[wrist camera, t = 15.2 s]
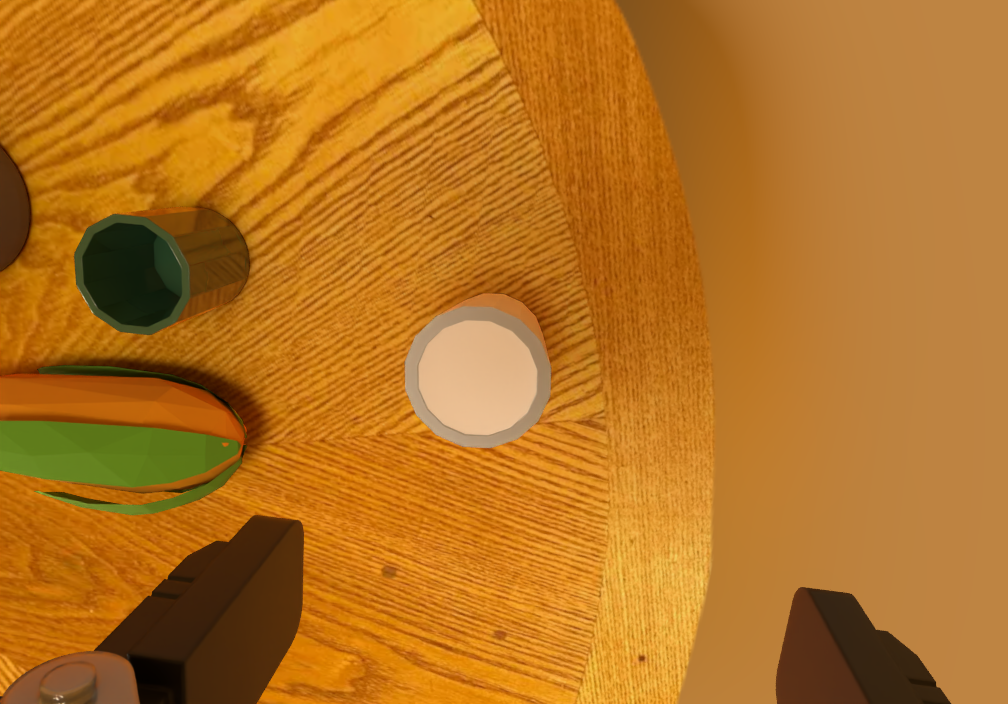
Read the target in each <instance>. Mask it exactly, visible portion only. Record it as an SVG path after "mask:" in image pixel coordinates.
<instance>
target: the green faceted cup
mask: <svg viewBox="0 0 1008 704" xmlns="http://www.w3.org/2000/svg"><path fill="white" fill-rule="evenodd" d="M74 259H75V274H76V285H77V287H78V289H79V291H80V293H81V294H82V296H83V298H84V299H85V301H86V303H87V304H88V306H89V308H90V309H91V311H92V313H93V314H94V315H96V316H97V317H99V318H100V319H102V320H103V321H105V322H106V323H108V324H109V325H111V326H112V327H113V328H115V329H116V330H118V331H120V332H126V333H135V334H144V335H152V334H154V333H157V332H159V331H162V330H164V329H167V328H169V327H171V326H174V325H176V324H179V323H181V322H184V321H186V320H189V319H191V318H194V317H196V316H198V315H201V314H203V313H206V312H208V311H211V310H213V309H215V308H217V307H219V306H221V305H224V304H226V303H228V302H230V301H232V300H233V299H234V298H235V297H236V296H237V295H238V294H239V293H240V291H241V290H242V288H243V286H244V285H245V283H246V280H247V277H248V272H249V255H248V250H247V247H246V244H245V242H244V239H243V237H242V236H241V234H240V232H239V231H238V230H237V228H236V227H235V226H234V225H233V224H232V223H231V222H230V221H229V220H228V219H227V218H225V217H224V216H222V215H221V214H219V213H217V212H215V211H213V210H210V209H206V208H201V207H183V206H182V207H172V208H163V209H154V210H145V211H136V212H126V213H117V214H112V215H110V216H108V217H107V218H105V219H103V220H101V221H99V222H97V223H95V224H93V225H91V226H89V227H88V228H87V230H86V232H85V234H84V236H83V238H82V240H81V242H80V243H79V245H78V247H77V249H76V251H75V254H74Z"/></svg>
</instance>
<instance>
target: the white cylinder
mask: <svg viewBox="0 0 1008 704" xmlns="http://www.w3.org/2000/svg"><path fill="white" fill-rule="evenodd" d="M550 389H551V365H550V361H549V357H548V353H547V349H546V345H545V341H544V337H543V334H542V331H541V328H540V326H539V323H538V321H537V318H536V316H535V315H534V314H533V313H532V312H531V311H530V310H529V309H528V308H527V307H526V306H525V305H524V304H523V303H522V302H521V301H518V300H516V299H514V298H512V297H509V296H507V295H505V294H491V293H483V294H480V295H477V296H475V297H472V298H469V299H467V300H464V301H463V302H461V303H459V304H457V305H455V306H454V307H452V308H450V309H448V310H446V311H445V312H443V313H441V314H439V315H438V316H436V317H435V318H434V319H433V320H432V321H431V322H430V323H429V324H427V325H426V326H425V327H424V328H423V329H422V330H421V331H420V332H419V333H418V334H417V335H416V336H415V338H414V341H413V343H412V346H411V348H410V350H409V353H408V355H407V358H406V360H405V390H406V392H407V395H408V397H409V399H410V401H411V404H412V406H413V408H414V411H415V413H416V415H417V416H418V417H419V418H420V419H421V420H422V421H423V422H424V423H425V424H426V425H427V426H428V427H429V428H430V429H431V430H432V431H433V432H434V433H435V434H436V435H437V436H440V437H442V438H444V439H446V440H449V441H451V442H453V443H456V444H458V445H460V446H462V447H480V448H492V447H495V446H498V445H501V444H504V443H507V442H510V441H513V440H516V439H518V438H519V437H520V436H522V435H523V434H524V433H525V432H526V431H527V430H528V429H530V428H531V427H532V426H533V425H534V424H535V423H536V422H538V420H539V418H540V416H541V414H542V412H543V410H544V408H545V406H546V404H547V402H548V400H549V398H550Z"/></svg>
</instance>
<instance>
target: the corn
mask: <svg viewBox="0 0 1008 704" xmlns="http://www.w3.org/2000/svg"><path fill="white" fill-rule="evenodd" d="M37 370H38V371H39V373H40V374H22V373H19V374H12V375H5V376H0V471H5V472H10V473H15V474H19V475H24V476H28V477H33V478H40V479H47V480H54V481H61V482H67V483H74V484H81V485H88V486H95V487H102V488H108V489H115V490H122V491H129V492H136V493H152V492H162V491H165V492H175V493H183V492H186V491H189V492H187V493H184V494H182V495H179V496H177V497H174V498H171V499H166V500H162V501H157V502H153V503H148V504H144V505H122V504H117V503H111V502H105V501H100V500H94V499H88V498H83V497H80V496H76V495H72V494H68V493H65V492H39V491H34V492H37V493H40V494H43V495H46V496H49V497H52V498H55V499H58V500H61V501H64V502H67V503H70V504H73V505H76V506H79V507H83V508H90V509H96V510H102V511H109V512H115V513H121V514H128V515H141V514H153V513H157V512H161V511H164V510H168V509H171V508H175V507H178V506H182V505H185V504H188V503H191V502H194V501H196V500H199V499H201V498H203V497H205V496H206V495H208V494H210V493H212V492H213V491H215V490H217V489H219V488H220V487H222V486H224V484H225V483H226V482H227V481H228V479H229V478H230V477H231V476H232V475H233V473H234V472H235V471H236V470H237V468H238V467H239V466H240V465H241V463H242V457H243V455H244V452H245V450H246V447H247V445H243V444H244V440H245V438H247V435H246V431H247V429H246V427H245V425H244V423H243V420H242V419H241V418H240V417H239V415H238V414H237V412H236V411H235V410H234V409H233V408H232V407H231V406H230V405H229V404H228V403H227V402H226V401H224V400H223V399H221V398H220V397H219V396H217V395H216V394H214V393H213V392H211V391H210V390H208V389H207V388H205V387H204V386H203V385H200V384H198V383H195V382H192V381H189V380H186V379H183V378H180V377H177V376H175V375H171V374H163V373H156V372H148V371H141V370H134V369H126V368H119V367H111V366H71V365H62V366H49V367H41V368H39V369H37ZM193 489H194V490H193ZM190 490H191V491H190Z"/></svg>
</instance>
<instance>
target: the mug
mask: <svg viewBox="0 0 1008 704" xmlns="http://www.w3.org/2000/svg"><path fill="white" fill-rule="evenodd" d="M29 221H30V210H29V202H28V196H27V192H26V189H25V186H24V183H23V181H22V178H21V176H20V174H19V172H18V170H17V169H16V167H15V165H14V164H13V162H12V161H11V159H10V158H9V157H8V155H7V154H6V153H5V152H4V151H3V150H2V149H1V147H0V271H1V270H3V269H4V268H5V267H7V266H8V265H9V264H10V263H11V262H12V261H13V260H14V259H15V258H16V257H17V255H18V254H19V252H20V251H21V249H22V247H23V245H24V243H25V240H26V237H27V234H28V229H29Z"/></svg>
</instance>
